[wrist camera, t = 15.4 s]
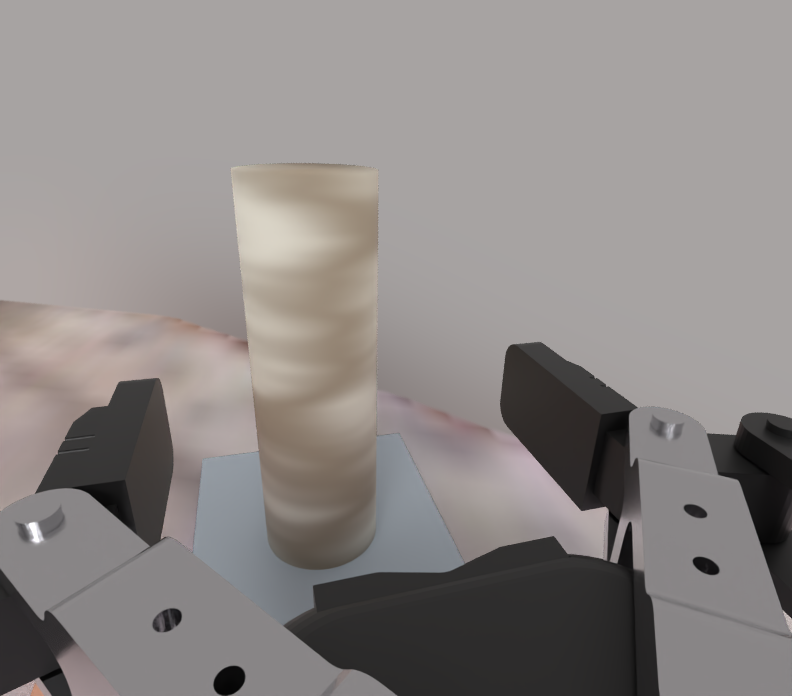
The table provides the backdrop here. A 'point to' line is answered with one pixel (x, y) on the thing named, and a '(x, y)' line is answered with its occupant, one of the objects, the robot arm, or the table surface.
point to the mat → (293, 587)
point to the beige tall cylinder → (312, 352)
